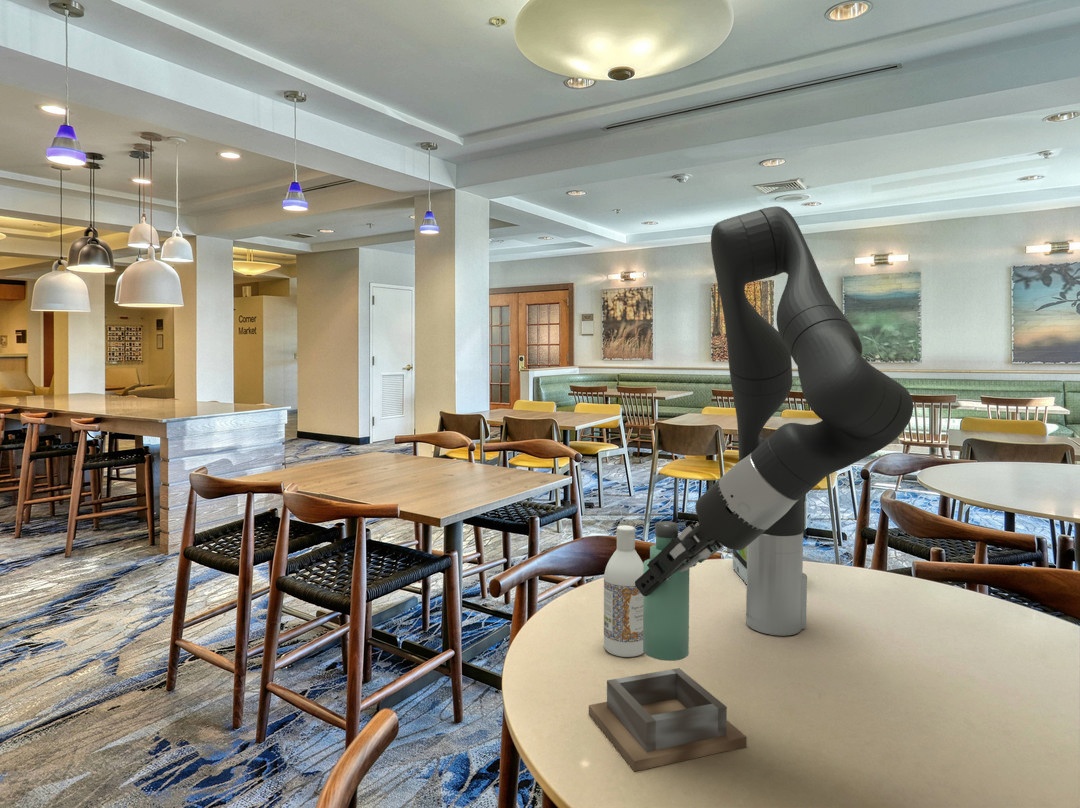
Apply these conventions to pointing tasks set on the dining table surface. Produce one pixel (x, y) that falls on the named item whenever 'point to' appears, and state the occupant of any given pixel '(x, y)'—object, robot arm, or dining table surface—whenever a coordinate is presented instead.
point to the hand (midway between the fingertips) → (653, 583)
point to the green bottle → (666, 606)
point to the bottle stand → (664, 719)
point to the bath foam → (623, 598)
